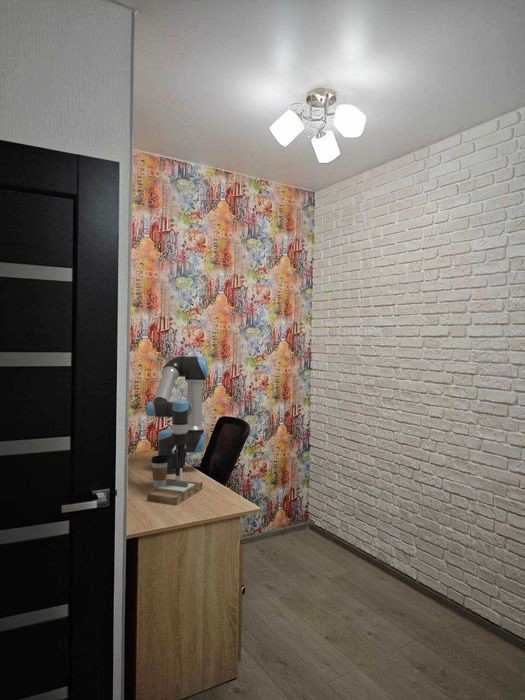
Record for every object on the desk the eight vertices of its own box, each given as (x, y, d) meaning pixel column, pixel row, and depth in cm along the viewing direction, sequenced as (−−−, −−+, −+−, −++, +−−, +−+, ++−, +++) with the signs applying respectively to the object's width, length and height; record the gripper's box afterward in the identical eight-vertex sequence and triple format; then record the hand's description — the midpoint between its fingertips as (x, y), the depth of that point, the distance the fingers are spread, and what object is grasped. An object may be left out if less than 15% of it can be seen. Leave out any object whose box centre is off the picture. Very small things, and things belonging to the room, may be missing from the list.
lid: (171, 482, 238) (171, 475, 237) (194, 485, 233) (195, 478, 233) (158, 489, 226) (158, 482, 226) (183, 492, 222) (183, 485, 222)
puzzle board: (175, 485, 244) (175, 478, 244) (202, 489, 239) (202, 482, 239) (147, 500, 219) (147, 493, 219) (176, 505, 214) (176, 497, 214)
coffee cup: (163, 489, 237) (164, 458, 237) (147, 487, 239) (148, 457, 239) (170, 484, 246) (171, 455, 246) (154, 483, 247) (155, 454, 247)
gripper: (179, 430, 238) (178, 477, 239) (165, 434, 226) (164, 484, 226) (193, 431, 236) (192, 479, 236) (180, 435, 224) (179, 486, 224)
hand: (178, 481), depth 231 cm, fingers closed
